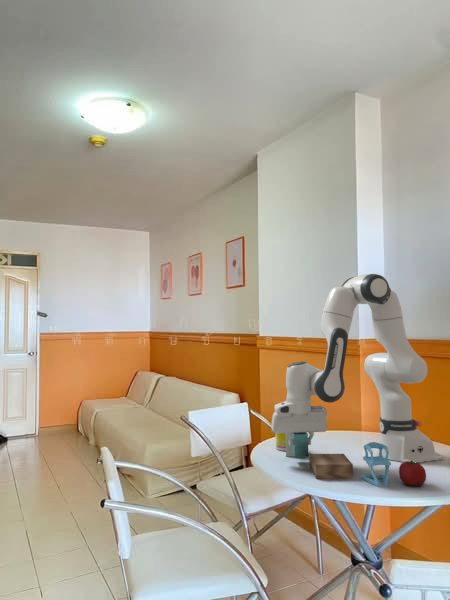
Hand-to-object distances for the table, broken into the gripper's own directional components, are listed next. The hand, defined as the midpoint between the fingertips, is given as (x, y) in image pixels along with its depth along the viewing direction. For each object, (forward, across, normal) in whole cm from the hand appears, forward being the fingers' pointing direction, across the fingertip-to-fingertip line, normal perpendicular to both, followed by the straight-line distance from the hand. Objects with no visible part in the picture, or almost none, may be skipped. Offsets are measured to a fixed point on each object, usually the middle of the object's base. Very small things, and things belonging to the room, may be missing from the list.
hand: (299, 444), depth 157 cm
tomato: (+7, -30, +24) cm, 39 cm away
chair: (+7, -20, +21) cm, 30 cm away
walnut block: (+7, -8, +11) cm, 15 cm away
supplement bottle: (+7, +2, -19) cm, 20 cm away
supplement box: (+7, -1, -11) cm, 13 cm away
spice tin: (+4, 0, 0) cm, 4 cm away
